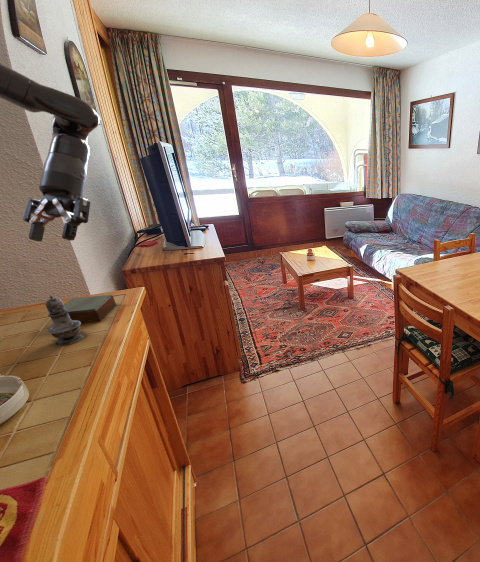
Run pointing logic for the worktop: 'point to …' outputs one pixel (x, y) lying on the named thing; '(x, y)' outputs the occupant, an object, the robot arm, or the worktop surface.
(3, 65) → the robot arm
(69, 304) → the walnut stand
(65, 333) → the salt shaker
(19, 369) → the worktop surface
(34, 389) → the worktop surface
